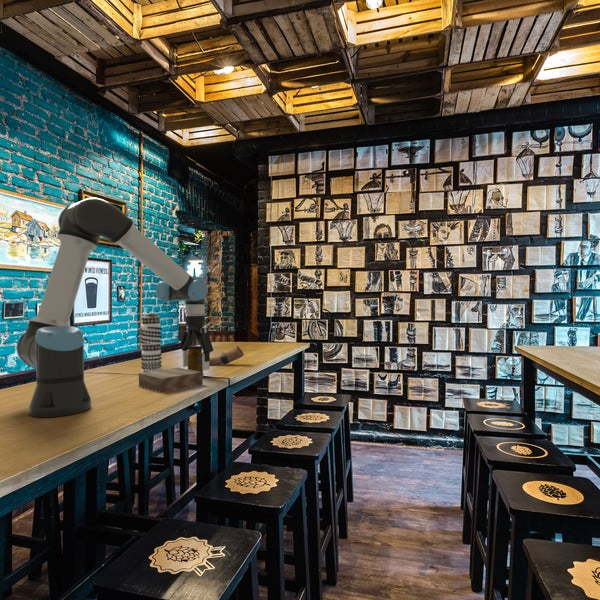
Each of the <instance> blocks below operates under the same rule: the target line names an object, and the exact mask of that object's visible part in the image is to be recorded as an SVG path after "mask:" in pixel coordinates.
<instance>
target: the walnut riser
mask: <svg viewBox="0 0 600 600" xmlns="http://www.w3.org/2000/svg"><path fill="white" fill-rule="evenodd" d="M203 375H204V374H203ZM203 375H202V372H200V371H194V370H189V369H188V368H182V367H174V368H165V369H162V370H158V371H152V372H140V373H138V387H140V386H142V387H141V388H144V387H145V389H147V388H149V389H148V390H151V389H153V390H152V391H155V390H157V391H156V392H158V391H160V392H159V393H162V392H163V393H166V392H165V391H168V392H171V391H170V390H173V391H175V390H174V389H178V390H181V389H180V388H183V389H186V388H185V387H188V388H191V387H190V386H193V387H197V386H196V385H198V386H203V385H204V383H203V382H204V381H203V380H204V379H203V378H204V377H203ZM202 384H203V385H202Z"/></svg>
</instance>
